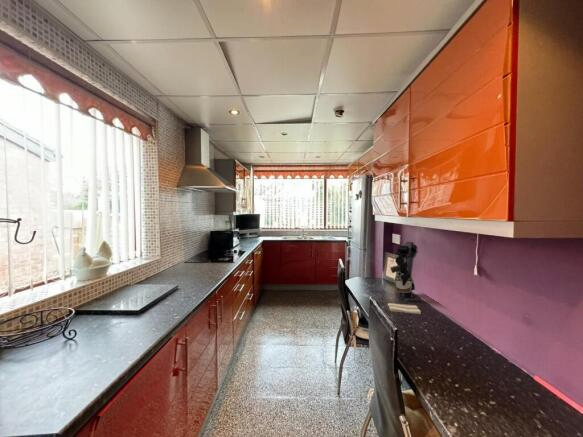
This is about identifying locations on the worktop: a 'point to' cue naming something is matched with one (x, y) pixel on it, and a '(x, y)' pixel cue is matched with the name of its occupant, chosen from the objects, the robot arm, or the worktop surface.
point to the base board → (404, 308)
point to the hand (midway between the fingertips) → (402, 284)
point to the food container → (400, 285)
